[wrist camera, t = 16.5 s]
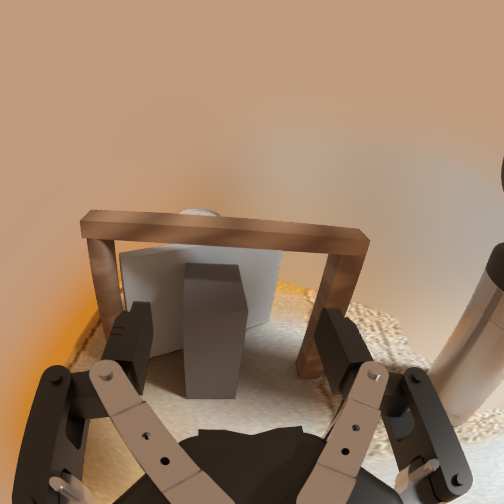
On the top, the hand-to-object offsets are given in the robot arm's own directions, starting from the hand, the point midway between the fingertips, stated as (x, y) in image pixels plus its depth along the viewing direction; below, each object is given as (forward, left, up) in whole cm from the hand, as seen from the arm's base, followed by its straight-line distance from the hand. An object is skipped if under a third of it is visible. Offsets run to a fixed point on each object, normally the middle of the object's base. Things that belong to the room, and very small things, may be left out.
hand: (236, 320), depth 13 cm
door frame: (-7, -8, -17) cm, 20 cm away
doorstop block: (-6, -9, -17) cm, 20 cm away
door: (-9, -13, -17) cm, 23 cm away
